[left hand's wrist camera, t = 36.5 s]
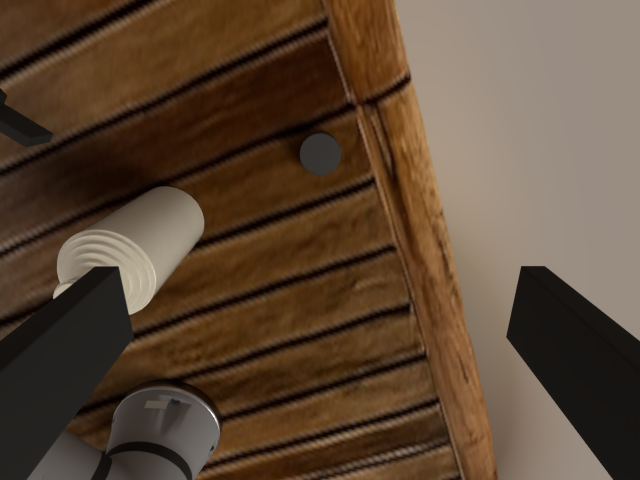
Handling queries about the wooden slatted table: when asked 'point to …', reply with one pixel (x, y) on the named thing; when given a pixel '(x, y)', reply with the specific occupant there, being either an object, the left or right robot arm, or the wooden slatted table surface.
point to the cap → (320, 153)
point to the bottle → (136, 243)
